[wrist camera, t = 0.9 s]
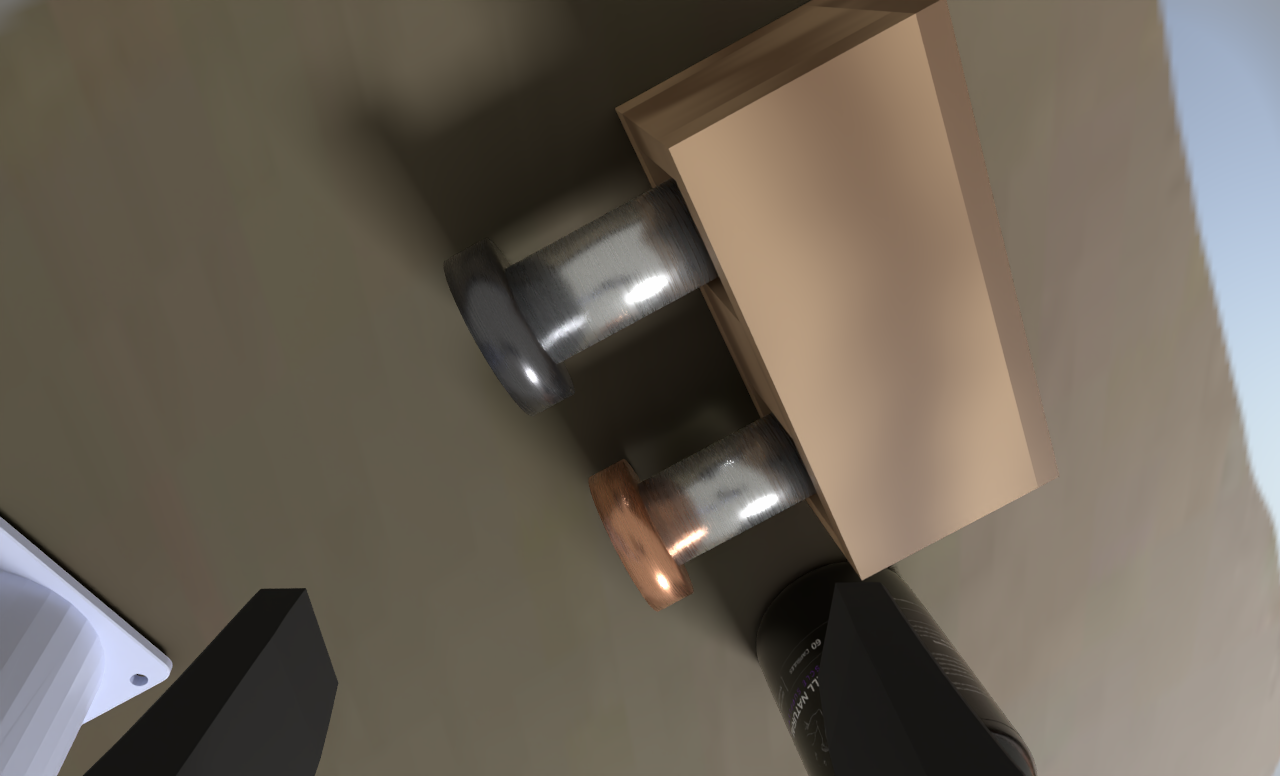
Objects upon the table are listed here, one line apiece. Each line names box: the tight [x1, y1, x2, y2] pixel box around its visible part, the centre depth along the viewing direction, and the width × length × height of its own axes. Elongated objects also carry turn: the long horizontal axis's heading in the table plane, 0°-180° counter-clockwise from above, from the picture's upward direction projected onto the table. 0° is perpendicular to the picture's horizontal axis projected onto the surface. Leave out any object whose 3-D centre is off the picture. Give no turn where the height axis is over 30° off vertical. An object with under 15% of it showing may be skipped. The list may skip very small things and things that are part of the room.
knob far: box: [589, 413, 817, 611], centre depth 25 cm, size 7×5×5 cm
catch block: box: [615, 0, 1059, 580], centre depth 23 cm, size 6×14×6 cm, turn 25°
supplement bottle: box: [756, 562, 1037, 776], centre depth 28 cm, size 7×7×12 cm
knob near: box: [444, 178, 719, 416], centre depth 21 cm, size 7×5×5 cm
